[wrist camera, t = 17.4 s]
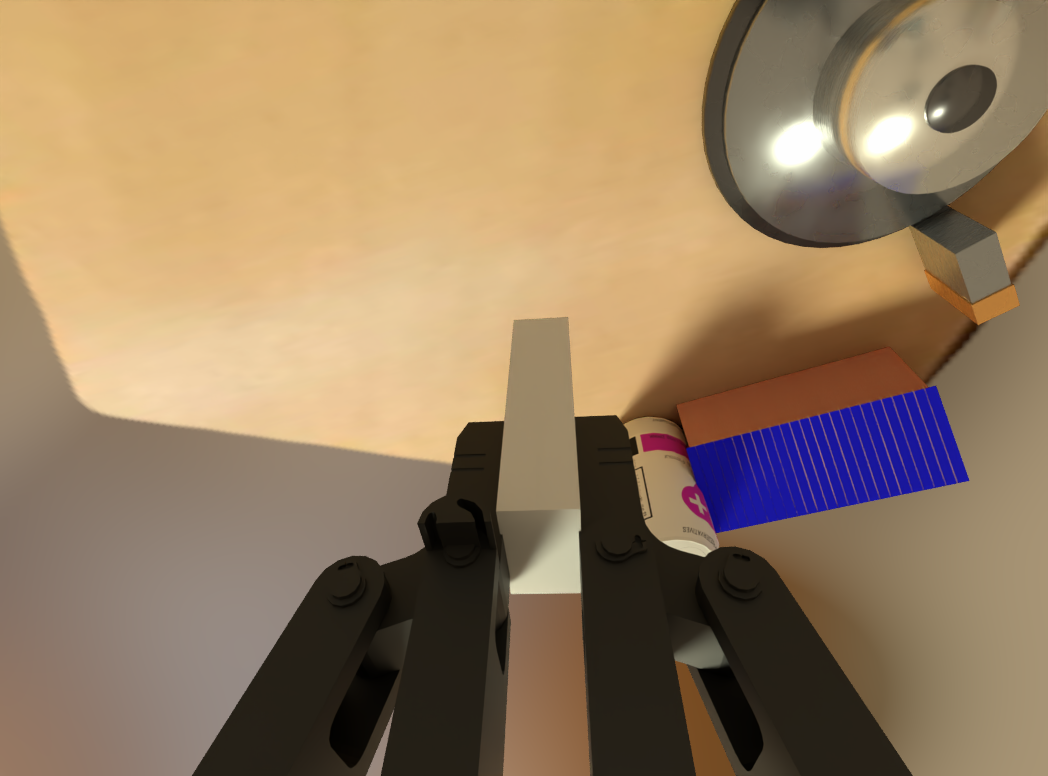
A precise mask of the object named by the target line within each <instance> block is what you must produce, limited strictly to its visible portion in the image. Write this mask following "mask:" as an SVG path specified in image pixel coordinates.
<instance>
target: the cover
mask: <svg viewBox="0 0 1048 776" xmlns="http://www.w3.org/2000/svg"><path fill="white" fill-rule="evenodd" d="M1047 109H1048V0H881V1H880V2H878V3H877V4H875V5H874V6H872V7H871V8H870V9H868V10H867V11H866V12H865V13H864V14H862V15H861V16H860V17H859V18H858V19H857V20H856V21H855V22H854V23H853V24H852V25H851V26H850V27H849V28H848V29H847V31H846V32H845V33H844V34H843V35H842V37H841V38H840V39H839V41H838V42H837V43H836V45H835V46H834V48H833V49H832V51H831V53H830V54H829V56H828V58H827V60H826V62H825V64H824V66H823V68H822V71H821V73H820V76H819V79H818V82H817V85H816V89H815V94H814V100H813V121H814V126H815V130H816V133H817V136H818V139H819V140H820V142H821V144H822V146H823V147H824V148H825V149H826V150H827V152H828V153H829V154H831V155H832V156H833V157H834V158H836V159H838V160H839V161H841V162H843V163H844V164H846V165H848V166H850V167H851V168H853V169H855V170H856V171H858V172H860V173H862V174H863V175H865V176H867V177H869V178H870V179H872V180H874V181H875V182H877V183H879V184H881V185H882V186H884V187H886V188H888V189H891V190H893V191H896V192H901V193H906V194H926V193H933V192H938V191H943V190H946V189H949V188H952V187H955V186H957V185H960V184H962V183H965V182H967V181H969V180H971V179H973V178H975V177H976V176H978V175H980V174H982V173H983V172H985V171H986V170H988V169H990V168H991V167H993V166H994V165H995V164H997V163H998V162H999V161H1001V160H1002V159H1003V158H1005V157H1006V156H1007V155H1008V154H1009V153H1010V152H1011V151H1012V150H1014V149H1015V148H1016V147H1017V146H1018V145H1019V144H1020V143H1021V142H1022V141H1023V140H1024V139H1025V138H1026V137H1027V136H1028V134H1029V133H1030V132H1031V131H1032V129H1033V128H1034V127H1035V126H1036V125H1037V123H1038V122H1039V121H1040V119H1041V118H1042V116H1043V115H1044V113H1045V112H1046V110H1047Z"/></svg>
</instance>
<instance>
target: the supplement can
mask: <svg viewBox="0 0 1048 776" xmlns="http://www.w3.org/2000/svg"><path fill="white" fill-rule="evenodd" d="M623 425H624V426H625V427H626V428H627V430H628V434H629V440H630V445H631V451H632V457H633V464H634V468H635V473H636V479H637V484H638V490H639V496H640V501H641V507H642V512H643V517H644V520H645V523H646V525H647V527H648V528H649V530H650V531H651V533H652V534H653V535H654V536H655V537H656V538H658V539H659V540H660V541H661V542H663V543H665V544H666V545H668V546H670V547H672V548H675V549H678V550H680V551H684V552H688V553H692V554H695V555H699V556H703V557H705V556H706V555H707V554H708V553H709V552H711V551H714V550H716V549H718V546H719V542H718V539H717V536H716V532H715V529H714V526H713V523H712V520H711V516H710V513H709V510H708V507H707V505H706V502H705V499H704V496H703V493H702V492H701V490H700V489H699V488H698V486H697V483H696V480H695V477H694V474H693V470H692V467H691V464H690V460H689V457H688V454H687V450H686V448H689V446H688V443H687V440H686V437H685V434H684V432H683V430H682V429H681V428H680V427H679V426H678V425H677V424H676V423H674V422H671V421H669V420H667V419H664V418H657V417H643V418H637V419H634V420H631V421H629V422H627V423H625V424H623Z"/></svg>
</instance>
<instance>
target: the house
mask: <svg viewBox="0 0 1048 776" xmlns="http://www.w3.org/2000/svg"><path fill="white" fill-rule="evenodd" d="M676 406H677V409H678V413H679V416H680V419H681V423H682V426H683V430H684V433H685V436H686V440H687V443H688V446H689V448H686V450H687V454H688V457H689V460H690V464H691V467H692V470H693V474H694V477H695V480H696V483H697V486H698V488H699V489H700V490H701V492H702V493H703V496H704V499H705V502H706V505H707V507H708V510H709V513H710V516H711V520H712V523H713V526H714V529H715V532H716V533H719V532H724V531H729V530H734V529H738V528H743V527H748V526H753V525H758V524H763V523H767V522H772V521H777V520H782V519H787V518H791V517H796V516H801V515H806V514H811V513H816V512H821V511H825V510H830V509H835V508H840V507H845V506H850V505H854V504H859V503H863V502H869V501H874V500H879V499H884V498H888V497H893V496H898V495H903V494H908V493H912V492H917V491H922V490H927V489H932V488H936V487H941V486H946V485H951V484H956V483H961V482H966V481H969V478H968V475H967V472H966V470H965V467H964V464H963V461H962V458H961V456H960V453H959V450H958V447H957V444H956V441H955V438H954V436H953V433H952V430H951V427H950V424H949V421H948V418H947V416H946V413H945V410H944V407H943V404H942V401H941V398H940V396H939V393H938V390H937V387H936V386H933V387H928V386H927V385H926V384H925V383H924V382H923V381H922V380H921V379H920V378H919V377H918V376H917V375H916V374H915V373H914V372H913V371H912V369H911V368H910V367H909V366H908V365H907V364H906V363H905V362H904V361H903V360H902V359H901V358H900V357H899V356H898V355H897V354H896V353H895V352H894V351H893V350H892V349H891V348H890V347H886V348H883V349H879V350H875V351H872V352H868V353H864V354H861V355H857V356H853V357H850V358H846V359H842V360H839V361H835V362H831V363H828V364H824V365H821V366H817V367H813V368H810V369H806V370H802V371H799V372H795V373H791V374H788V375H784V376H780V377H777V378H773V379H769V380H766V381H762V382H758V383H755V384H751V385H747V386H744V387H740V388H736V389H733V390H729V391H725V392H722V393H718V394H714V395H711V396H707V397H703V398H700V399H696V400H692V401H689V402H685V403H681V404H678V405H676Z"/></svg>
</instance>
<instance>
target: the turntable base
mask: <svg viewBox="0 0 1048 776" xmlns="http://www.w3.org/2000/svg"><path fill="white" fill-rule="evenodd" d="M760 2H761V0H737V1H736V2H735V4H734V6H733V7H732V9H731V11H730V14H729V16H728V18H727V20H726V22H725V24H724V26H723V28H722V31H721V33H720V35H719V38H718V41H717V44H716V46H715V49H714V52H713V55H712V58H711V61H710V65H709V69H708V74H707V78H706V82H705V88H704V96H703V104H702V135H703V143H704V151H705V155H706V159H707V162H708V166H709V170H710V172H711V174H712V177H713V179H714V181H715V183H716V186H717V188H718V189H719V191H720V192H721V194H722V195H723V197H724V198H725V200H726V201H727V203H728V204H729V205H730V206H731V207H732V208H733V209H734V211H735V212H736V213H737V214H738V215H739V216H740V217H741V218H742V219H743V220H744V221H745V222H747V223H748V224H749V225H750V226H752V227H753V228H754V229H756V230H758V231H760V232H761V233H763V234H765V235H767V236H768V237H771V238H773V239H776V240H779V241H782V242H784V243H788V244H793V245H798V246H802V247H816V248H828V247H842V246H848V245H854V244H860V243H864V242H867V241H871V240H874V239H878V238H881V237H884V236H886V235H889V234H892V233H889V234H886V235H883V236H879V237H876V238H872V239H866V240H861V241H856V242H843V243H829V242H816V241H811V240H806V239H802V238H799V237H796V236H793V235H790V234H787V233H785V232H783V231H781V230H780V229H778V228H776V227H774V226H772V225H771V224H770V223H768V222H767V221H766V220H765V219H763V218H762V217H761V216H760V215H759V214H758V213H757V212H756V211H755V210H754V209H753V208H752V207H751V206H750V205H749V204H748V202H747V201H746V200H745V199H744V198H743V196H742V195H741V193H740V192H739V190H738V189H737V187H736V185H735V183H734V181H733V179H732V176H731V174H730V172H729V169H728V166H727V162H726V158H725V155H724V149H723V141H722V106H723V98H724V91H725V86H726V82H727V78H728V74H729V70H730V66H731V64H732V61H733V58H734V55H735V52H736V49H737V47H738V44H739V42H740V40H741V38H742V36H743V33H744V31H745V29H746V27H747V25H748V23H749V21H750V19H751V17H752V16H753V14H754V12H755V11H756V9H757V7H758V5H759V4H760ZM905 228H906V227H905ZM903 229H904V228H903ZM900 230H902V229H900ZM898 231H899V230H898ZM895 232H897V231H895ZM893 233H894V232H893Z"/></svg>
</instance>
